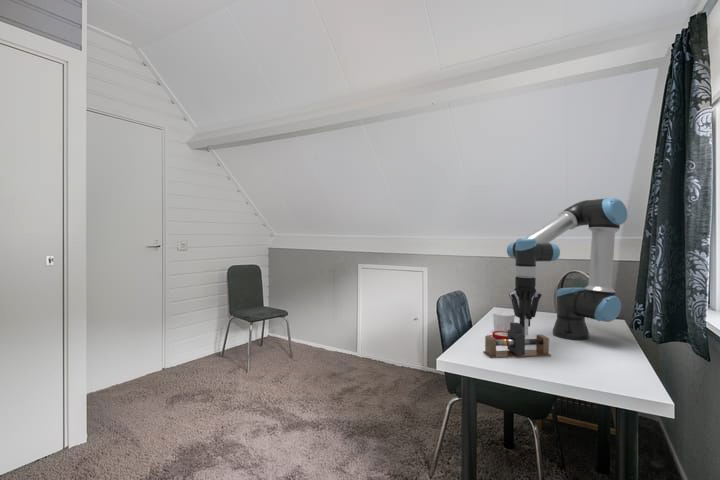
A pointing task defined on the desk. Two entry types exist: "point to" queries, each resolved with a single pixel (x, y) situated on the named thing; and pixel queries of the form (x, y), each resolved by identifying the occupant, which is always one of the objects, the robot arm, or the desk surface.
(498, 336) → the alarm clock
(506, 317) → the cup
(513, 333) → the dark grey stepped block
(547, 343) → the rail
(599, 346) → the desk surface
